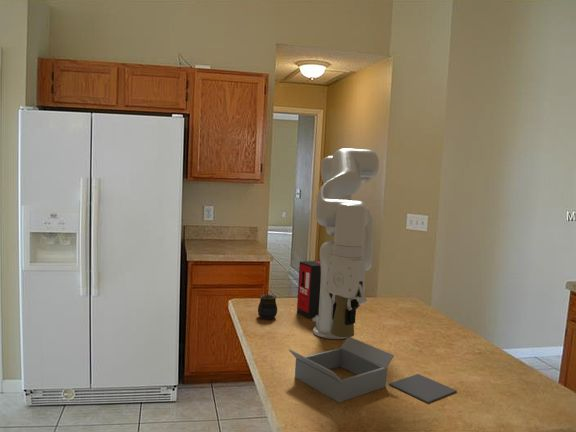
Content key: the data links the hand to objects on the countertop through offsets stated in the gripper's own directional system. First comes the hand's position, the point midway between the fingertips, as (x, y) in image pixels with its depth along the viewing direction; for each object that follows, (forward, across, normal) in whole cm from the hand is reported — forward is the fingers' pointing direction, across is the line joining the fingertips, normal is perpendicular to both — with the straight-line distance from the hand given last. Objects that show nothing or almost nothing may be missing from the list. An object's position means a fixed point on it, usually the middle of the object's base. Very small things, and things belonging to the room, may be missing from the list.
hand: (343, 320), depth 125 cm
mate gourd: (+17, -54, +15) cm, 59 cm away
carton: (+16, +1, -1) cm, 16 cm away
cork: (+4, 0, 0) cm, 4 cm away
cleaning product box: (+18, -49, +37) cm, 64 cm away
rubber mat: (+16, +15, +15) cm, 27 cm away
